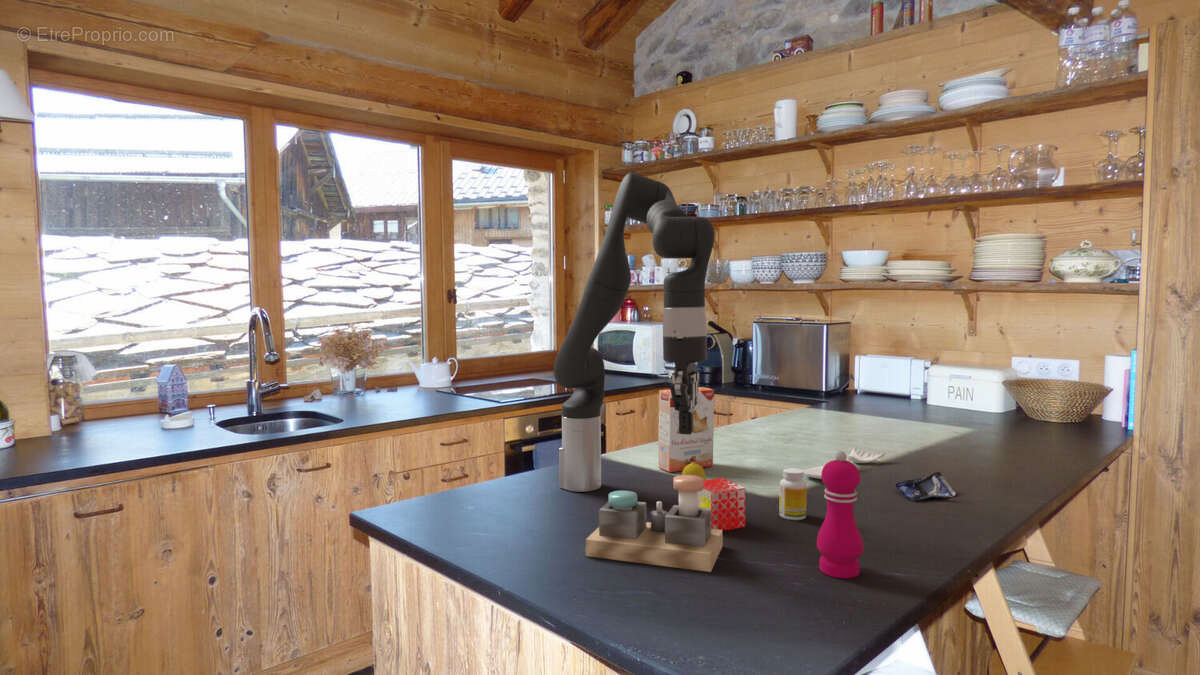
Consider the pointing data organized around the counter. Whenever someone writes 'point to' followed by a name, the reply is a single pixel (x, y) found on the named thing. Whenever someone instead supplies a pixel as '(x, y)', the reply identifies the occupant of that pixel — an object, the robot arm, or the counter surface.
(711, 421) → the cracker box
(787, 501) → the supplement bottle
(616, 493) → the knob left
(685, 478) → the knob right
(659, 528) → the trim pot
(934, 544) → the counter surface
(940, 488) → the snack package
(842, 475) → the pepper mill
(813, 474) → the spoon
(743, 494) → the red patterned cube box
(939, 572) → the counter surface
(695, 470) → the lemon
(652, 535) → the mount
